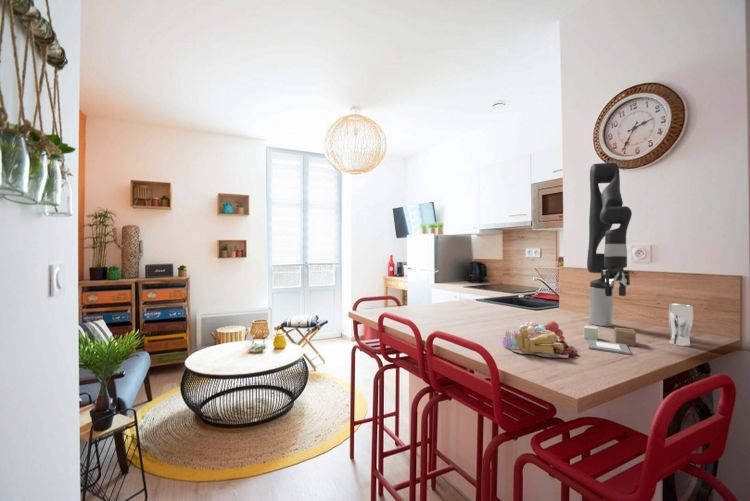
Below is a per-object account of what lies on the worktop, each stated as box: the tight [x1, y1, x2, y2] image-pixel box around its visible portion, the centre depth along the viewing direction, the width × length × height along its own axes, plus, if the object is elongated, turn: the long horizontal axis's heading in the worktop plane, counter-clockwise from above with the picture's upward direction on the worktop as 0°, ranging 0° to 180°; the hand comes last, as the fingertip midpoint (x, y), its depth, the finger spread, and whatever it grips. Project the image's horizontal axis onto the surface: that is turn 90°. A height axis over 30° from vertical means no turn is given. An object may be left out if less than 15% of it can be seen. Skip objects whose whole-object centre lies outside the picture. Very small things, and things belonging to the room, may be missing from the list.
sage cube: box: [583, 325, 599, 341], centre depth 136 cm, size 4×4×4 cm
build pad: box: [587, 339, 632, 356], centre depth 124 cm, size 12×12×1 cm
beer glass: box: [668, 302, 694, 347], centre depth 130 cm, size 7×7×15 cm
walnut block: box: [613, 327, 637, 347], centre depth 131 cm, size 6×6×5 cm
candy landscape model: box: [502, 320, 579, 359], centre depth 122 cm, size 25×24×9 cm
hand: (615, 296), depth 138 cm, fingers open, 8 cm apart
